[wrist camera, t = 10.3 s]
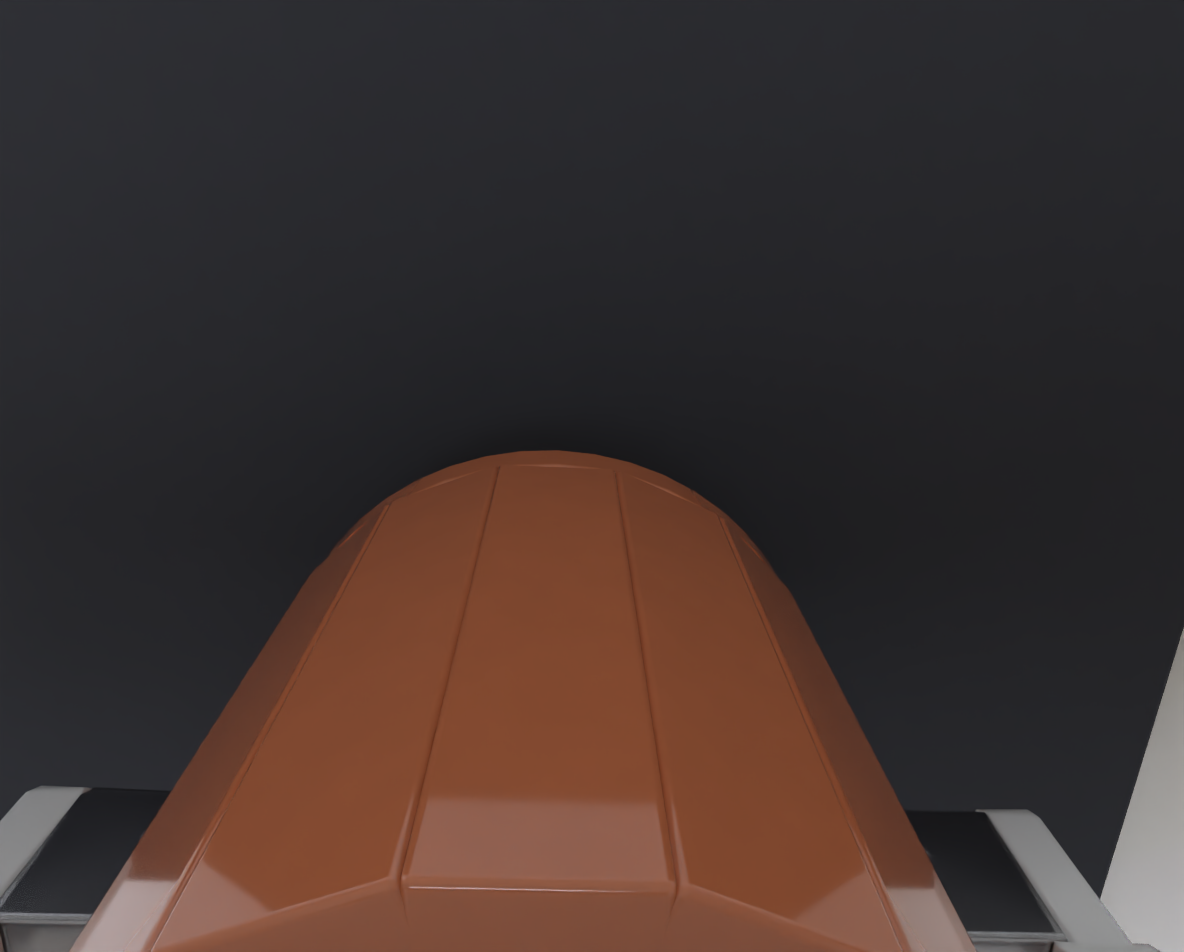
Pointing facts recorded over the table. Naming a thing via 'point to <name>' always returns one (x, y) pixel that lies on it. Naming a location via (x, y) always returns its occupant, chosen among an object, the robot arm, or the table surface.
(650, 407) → the mat
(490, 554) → the cup
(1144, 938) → the table surface
